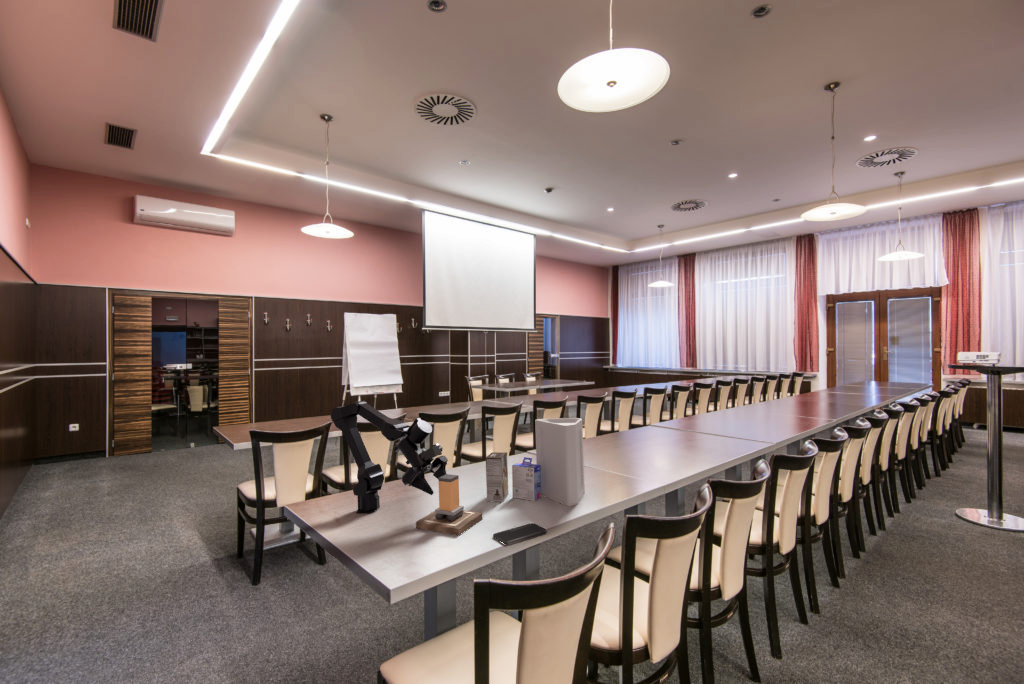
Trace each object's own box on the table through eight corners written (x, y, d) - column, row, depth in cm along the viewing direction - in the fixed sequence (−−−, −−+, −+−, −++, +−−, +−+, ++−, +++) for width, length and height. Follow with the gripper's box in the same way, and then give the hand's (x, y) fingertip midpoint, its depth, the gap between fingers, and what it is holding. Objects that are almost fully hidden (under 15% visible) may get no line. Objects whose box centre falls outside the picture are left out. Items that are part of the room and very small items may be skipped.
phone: (548, 530, 135) (505, 543, 127) (548, 534, 135) (505, 547, 127) (533, 522, 141) (491, 533, 133) (533, 526, 141) (491, 537, 133)
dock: (416, 528, 142) (415, 521, 142) (441, 513, 154) (441, 506, 154) (459, 535, 135) (459, 528, 135) (482, 519, 147) (482, 512, 147)
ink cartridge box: (542, 497, 167) (541, 458, 168) (535, 501, 163) (534, 461, 163) (519, 493, 173) (518, 455, 173) (512, 497, 168) (510, 458, 168)
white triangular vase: (599, 498, 165) (597, 421, 165) (568, 506, 157) (565, 425, 157) (566, 485, 181) (564, 415, 181) (536, 492, 173) (534, 419, 173)
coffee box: (492, 493, 174) (491, 451, 174) (508, 494, 172) (507, 452, 173) (486, 501, 165) (485, 457, 165) (503, 502, 163) (502, 457, 164)
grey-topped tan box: (434, 519, 143) (433, 478, 143) (446, 512, 149) (445, 473, 149) (453, 522, 140) (452, 480, 140) (464, 515, 146) (463, 474, 146)
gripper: (408, 442, 140) (438, 482, 135) (442, 432, 157) (470, 466, 152) (389, 465, 143) (417, 504, 139) (424, 452, 160) (451, 487, 155)
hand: (441, 489), depth 146 cm, fingers open, 9 cm apart
